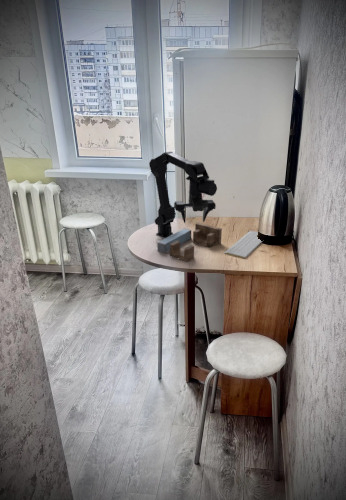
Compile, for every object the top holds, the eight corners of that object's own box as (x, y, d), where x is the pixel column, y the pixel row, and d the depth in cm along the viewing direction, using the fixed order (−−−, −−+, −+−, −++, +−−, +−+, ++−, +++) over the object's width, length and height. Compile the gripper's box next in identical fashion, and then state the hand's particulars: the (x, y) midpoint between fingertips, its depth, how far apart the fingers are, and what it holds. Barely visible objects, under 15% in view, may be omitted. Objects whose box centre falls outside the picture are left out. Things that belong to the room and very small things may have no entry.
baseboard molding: (221, 253, 182) (244, 260, 176) (221, 248, 181) (245, 254, 175) (246, 232, 206) (268, 237, 200) (247, 227, 205) (268, 231, 199)
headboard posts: (166, 254, 180) (166, 239, 176) (197, 237, 199) (197, 222, 195) (191, 263, 172) (191, 246, 169) (221, 243, 191) (221, 228, 188)
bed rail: (157, 250, 184) (157, 242, 182) (184, 236, 200) (184, 228, 198) (164, 253, 182) (164, 244, 180) (191, 238, 198) (191, 230, 196)
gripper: (178, 197, 168) (178, 230, 175) (220, 195, 171) (217, 227, 178) (174, 189, 178) (173, 220, 185) (213, 187, 181) (211, 218, 188)
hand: (194, 222), depth 184 cm, fingers open, 9 cm apart
